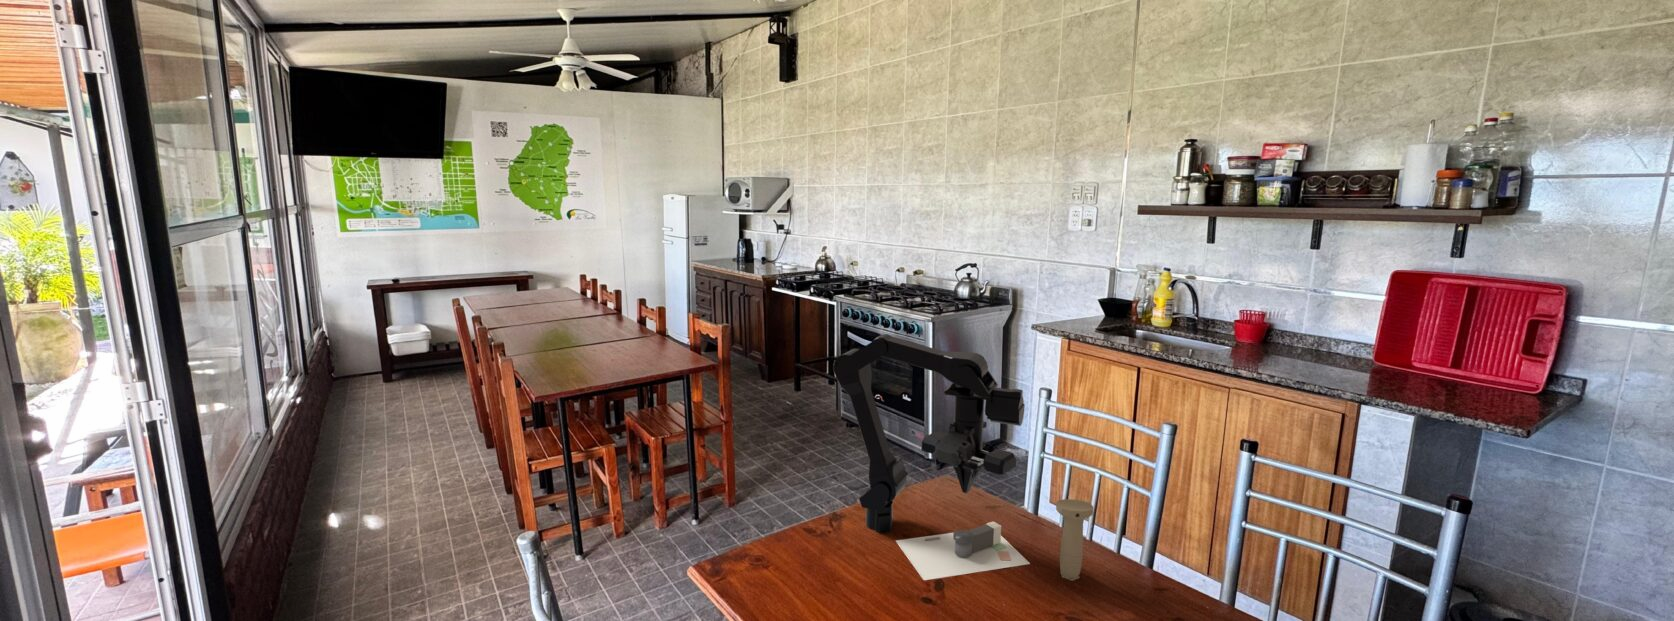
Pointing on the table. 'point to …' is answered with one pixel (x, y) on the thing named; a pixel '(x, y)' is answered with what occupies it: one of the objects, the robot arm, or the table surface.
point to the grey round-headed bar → (976, 539)
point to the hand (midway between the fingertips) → (965, 492)
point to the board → (956, 556)
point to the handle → (1072, 535)
